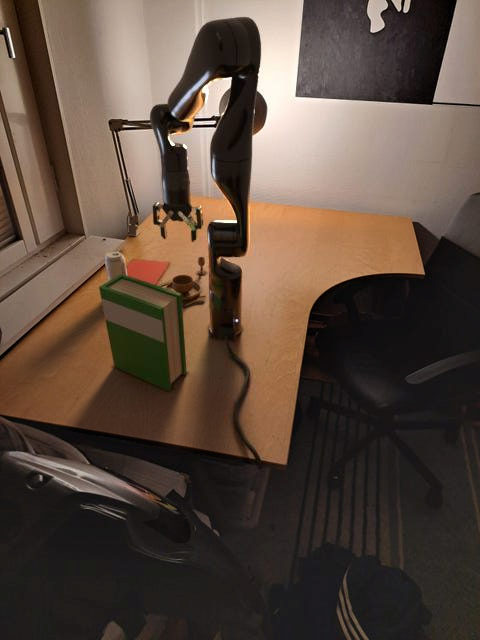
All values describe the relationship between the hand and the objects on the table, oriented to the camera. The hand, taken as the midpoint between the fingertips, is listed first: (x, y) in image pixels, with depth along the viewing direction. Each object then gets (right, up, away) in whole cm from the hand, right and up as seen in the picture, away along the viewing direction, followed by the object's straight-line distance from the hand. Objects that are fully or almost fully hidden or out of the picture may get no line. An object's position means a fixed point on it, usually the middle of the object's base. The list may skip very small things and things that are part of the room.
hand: (179, 239), depth 124 cm
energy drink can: (-21, -16, +14) cm, 30 cm away
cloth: (-17, -8, +26) cm, 32 cm away
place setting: (+2, -13, +19) cm, 23 cm away
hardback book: (-5, -37, -15) cm, 40 cm away
